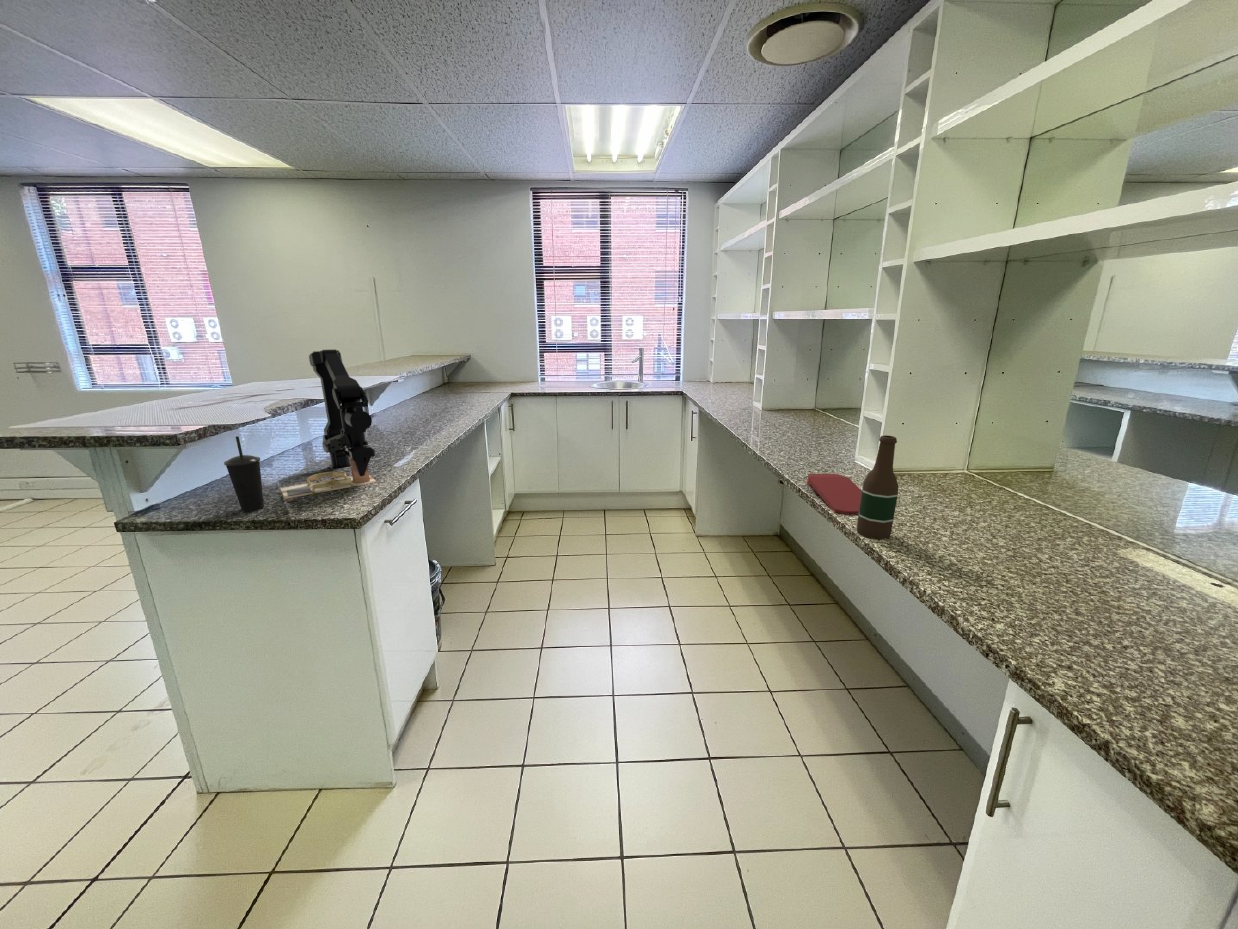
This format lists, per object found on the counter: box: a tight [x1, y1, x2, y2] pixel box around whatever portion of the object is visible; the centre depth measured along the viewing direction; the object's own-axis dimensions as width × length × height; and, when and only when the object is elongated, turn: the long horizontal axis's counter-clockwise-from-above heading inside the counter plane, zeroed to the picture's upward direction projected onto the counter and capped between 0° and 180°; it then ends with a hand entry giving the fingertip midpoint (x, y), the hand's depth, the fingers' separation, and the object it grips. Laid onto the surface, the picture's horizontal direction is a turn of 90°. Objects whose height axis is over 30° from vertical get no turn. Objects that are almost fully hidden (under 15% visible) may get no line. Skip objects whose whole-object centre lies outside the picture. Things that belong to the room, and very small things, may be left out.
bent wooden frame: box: [306, 470, 354, 495], centre depth 146 cm, size 12×11×2 cm
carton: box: [806, 473, 862, 515], centre depth 140 cm, size 12×5×25 cm
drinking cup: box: [223, 436, 265, 513], centre depth 127 cm, size 8×8×20 cm
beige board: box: [279, 474, 378, 503], centre depth 147 cm, size 12×24×1 cm, turn 130°
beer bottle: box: [856, 434, 899, 541], centre depth 112 cm, size 8×8×24 cm
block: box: [350, 459, 370, 483], centre depth 150 cm, size 4×4×7 cm
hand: (360, 474), depth 150 cm, fingers closed on block, 4 cm apart
